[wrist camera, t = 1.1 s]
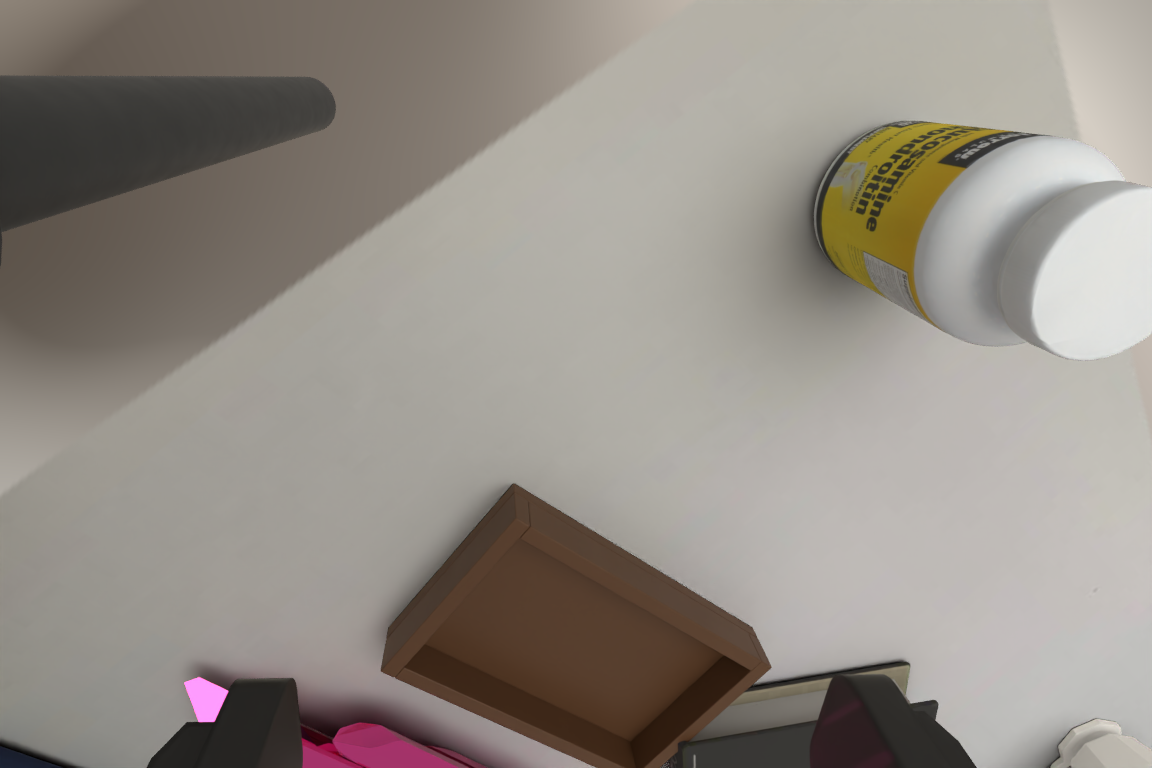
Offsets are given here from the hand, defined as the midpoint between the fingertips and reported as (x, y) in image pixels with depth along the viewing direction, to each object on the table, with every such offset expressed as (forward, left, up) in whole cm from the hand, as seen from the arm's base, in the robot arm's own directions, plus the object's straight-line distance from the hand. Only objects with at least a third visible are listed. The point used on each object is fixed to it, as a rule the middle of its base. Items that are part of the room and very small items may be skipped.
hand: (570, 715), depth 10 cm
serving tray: (+13, -12, -20) cm, 27 cm away
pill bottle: (+9, +13, -20) cm, 26 cm away
